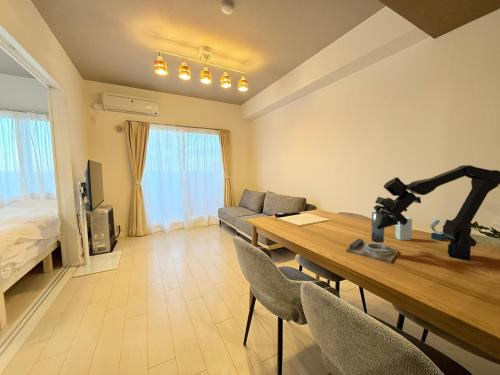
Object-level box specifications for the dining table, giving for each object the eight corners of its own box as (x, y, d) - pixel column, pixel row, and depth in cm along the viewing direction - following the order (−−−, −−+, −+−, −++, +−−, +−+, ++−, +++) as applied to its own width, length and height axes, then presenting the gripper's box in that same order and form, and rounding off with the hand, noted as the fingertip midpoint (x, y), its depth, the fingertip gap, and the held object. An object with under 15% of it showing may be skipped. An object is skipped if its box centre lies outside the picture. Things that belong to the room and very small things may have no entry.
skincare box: (406, 237, 116) (407, 216, 115) (411, 240, 112) (412, 218, 111) (395, 237, 117) (395, 216, 116) (399, 240, 112) (400, 218, 111)
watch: (433, 236, 117) (434, 217, 116) (451, 240, 110) (452, 220, 109) (427, 237, 115) (427, 218, 115) (444, 242, 108) (445, 221, 107)
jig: (398, 251, 97) (399, 245, 97) (390, 263, 86) (391, 256, 85) (357, 242, 110) (357, 237, 109) (346, 251, 98) (346, 245, 98)
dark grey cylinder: (386, 242, 93) (387, 214, 92) (376, 243, 93) (377, 214, 92) (378, 238, 98) (379, 211, 97) (368, 239, 98) (369, 212, 96)
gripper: (378, 188, 102) (354, 210, 105) (400, 193, 84) (371, 219, 86) (394, 204, 102) (370, 226, 104) (420, 212, 83) (390, 238, 86)
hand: (374, 226), depth 95 cm, fingers closed on dark grey cylinder, 5 cm apart
